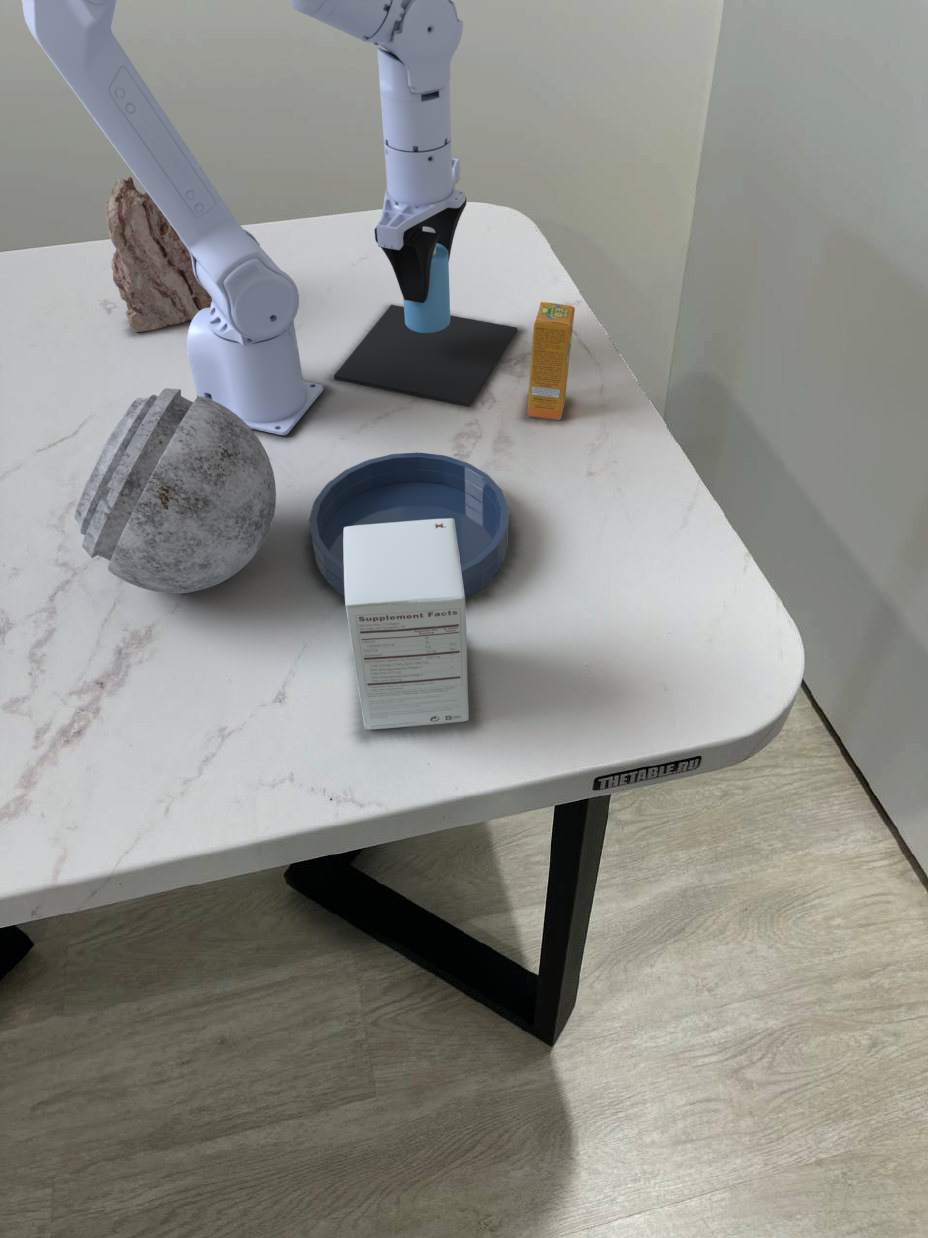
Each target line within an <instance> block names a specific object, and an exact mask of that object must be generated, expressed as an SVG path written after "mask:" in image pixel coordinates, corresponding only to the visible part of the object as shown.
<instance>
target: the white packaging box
mask: <svg viewBox="0 0 928 1238" xmlns="http://www.w3.org/2000/svg"><path fill="white" fill-rule="evenodd" d="M343 555H344V590H345V596H344V603H345V604H344V605H345V612H346V617H347V618H346V619H347V623H348V624H347V625H348V630H349V637H350V645H351V651H352V658H353V665H354V671H355V678H356V683H357V684H356V685H357V690H358V696H359V702H360V707H361V715H362V720H363V725H364V729H365V730H384V729H385V730H386V729H395V728H396V729H397V728H407V727H418V726H419V727H421V726H432V725H433V726H434V725H442V724H453V723H464V722H468V721H469V719H470V718H469V716H470V715H469V712H470V711H469V691H468V690H469V687H468V645H467V644H468V643H467V640H468V639H467V613H466V612H467V610H466V609H467V607H466V598H465V594H464V587H463V580H462V573H461V565H460V556H459V551H458V544H457V536H456V529H455V520H454V519H453V518H449V519H429V520H416V521H404V522H392V523H379V524H366V525H355V526H347V527H344V532H343Z"/></svg>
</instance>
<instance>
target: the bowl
mask: <svg viewBox="0 0 928 1238" xmlns="http://www.w3.org/2000/svg"><path fill="white" fill-rule="evenodd" d="M509 511H510V507H509V506H508V502H507V500H506V497H505V496H504V492H503V490H502V489H501V487H499V485H498V484H497V483H496V482H495V481H494V480H493V479H492V477H491V476H490V475H489V474H487V473H486V472H484V471H482V470H481V469H479V468H478V467H476V466H474V465H473V464H471V463H469V462H466V461H463V460H460V459H457V458H454V457H451V456H448V455H444V454H435V453H428V452H418V451H417V452H402V453H390V454H387V455H383V456H379V457H374V458H371V459H370V458H369V459H366V460H364V461H362V462H360V463H358V464H355V465H353V466H351V467H348V468H346V469H345V470H343V471H342V472H341V473H339V474H337V476H335V477H334V478H333V479H331V480H330V481H329V482H327V483H326V484H325V485H324V487H323V489H322V490H321V491H320V492H319V494H318V495H317V497H316V498H315V499H314V500H313V504H312V508H311V511H310V516H309V519H308V523H309V529H310V535H311V541H312V548H313V553H314V558H315V563H316V565H317V567H318V569H319V572H320V573H321V575H322V576H323V578H324V580H326V582H327V583H328V584H329V585H330V586H331V587H332V588H334V589H335V590H336V591H337V592H338V593H339V594H341V595H343V596H344V597H345V590H344V555H343V532H344V527H347V526H355V525H366V524H379V523H392V522H404V521H416V520H429V519H449V518H453V519H454V520H455V529H456V536H457V544H458V551H459V556H460V565H461V573H462V580H463V587H464V594H465V599H466V598H468V597H470V596H472V595H474V594H475V593H476V592H478V591H479V590H481V589H482V588H483V587H485V586H486V585H487V584H488V583H489V582H490V581H491V580H493V578H494V577H495V576H496V575H497V573H498V572H499V570H500V569H501V567H502V565H503V564H504V561H505V559H506V555H507V552H508V547H509V546H508V545H509V544H508V543H509V518H510V517H509V515H510V514H509V513H510V512H509Z"/></svg>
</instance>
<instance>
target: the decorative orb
mask: <svg viewBox="0 0 928 1238" xmlns="http://www.w3.org/2000/svg"><path fill="white" fill-rule="evenodd" d="M276 487H277V486H276V479H275V473H274V470H273V467H272V464H271V460H270V457H269V455H268V453H267V451H266V449H265V446H264V445H263V443H262V442H261V440H260V439H259V437H258V436H257V434H256V433H255V432H254V431H253V429H251V428H250V427H249V426H248V425H247V424H246V423H245V422H244V421H243V420H242V419H241V418H239V417H238V416H237V415H236V414H235V413H233V412H232V411H230V410H229V409H228V408H226V407H224V406H223V405H221V404H219V403H217V402H215V401H213V400H211V399H208V398H205V397H202V396H198V395H197V397H196V398H195V400H193V401H192V400H190V399H188V398H185V397H184V396H182V389H181V388H169V387H168V388H167V387H165V388H164V389H163V390H162V391H161V392H160V393H159V395H158V396H157V395H155V394H152V395H150V396H147V397H144V398H142V397H137V398H136V399H134V400H133V402H132V403H131V404H130V406H129V407H128V409H127V410H126V411H125V413H124V414H123V416H122V417H121V419H120V420H119V421H118V423H117V424H116V426H115V427H114V429H113V430H112V431H111V432H110V435H109V436H108V438H107V439H106V441H105V443H104V444H103V446H102V447H101V449H100V451H99V453H98V455H97V457H96V459H95V461H94V463H93V466H92V468H91V470H90V472H89V474H88V477H87V479H86V482H85V484H84V487H83V490H82V492H81V495H80V498H79V500H78V503H77V506H76V509H75V512H74V517H73V518H74V520H75V521H76V522H77V523H78V526H79V529H80V530H79V531H80V534H81V535H83V536H84V537H83V541H82V548H83V549H84V550H85V552H86V553H87V555H89V557H90V558H91V559H93V558H95V557H97V556H99V557H101V558H102V559H105V560H107V561H109V563H108V565H107V570H108V571H109V573H111V574H113V575H114V576H115V577H117V578H119V579H121V580H123V581H124V582H126V583H128V584H131V585H133V586H136V587H138V588H141V589H144V590H147V591H152V592H155V593H157V592H158V593H165V594H185V593H193V592H198V591H203V590H206V589H209V588H213V587H215V586H216V585H219V584H221V583H223V582H225V581H227V580H228V579H230V578H232V577H233V576H235V575H236V574H238V573H239V572H241V570H242V569H244V567H246V566H247V565H248V564H249V563H250V562H251V561H252V560H253V558H255V556H256V555H257V554H258V552H259V550H260V549H261V548H262V546H263V545H264V542H265V541H266V539H267V537H268V534H269V532H270V530H271V526H272V524H273V520H274V516H275V511H276V502H277V488H276Z"/></svg>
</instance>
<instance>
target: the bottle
mask: <svg viewBox="0 0 928 1238" xmlns="http://www.w3.org/2000/svg"><path fill="white" fill-rule="evenodd" d="M423 231H426V232H432V233H435V230H434V229H433V228H430V227H423ZM449 264H450V260H449V261H448V250H447V249H446V247H444V246H443V245H441V244H438V243H437V244H436V246H435V249H434V252H433V257H432V261H431V267H430V280H429V291H428V296H427V299H426V301H425V302H424V303H419V302H413V301H408V300H404V298H403V297H402V300H403V307H404V315H405V324H406V326H407V327H408V328H409V329H411V330H413V331H415V332H419V333H434V332H438V331H441V330H443V329H445V328H446V327H447V326H448V325H449V324H450V315H451V298H450V297H451V295H450V292H451V291H450V267H449V266H450V265H449Z"/></svg>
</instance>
